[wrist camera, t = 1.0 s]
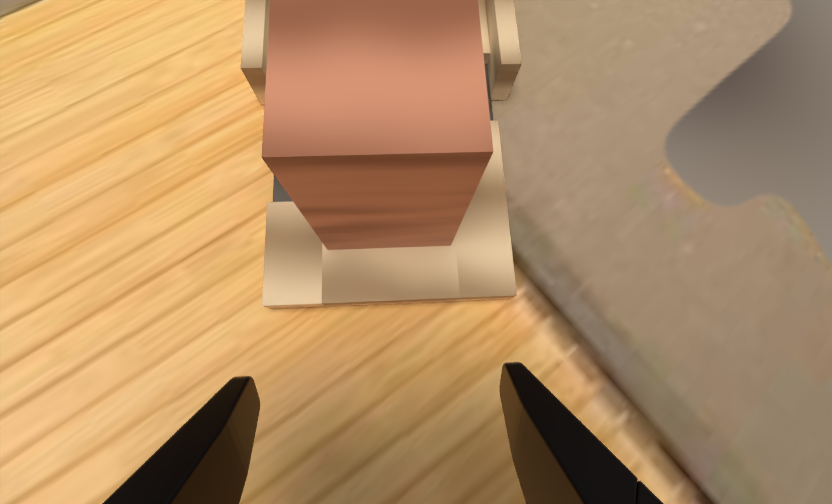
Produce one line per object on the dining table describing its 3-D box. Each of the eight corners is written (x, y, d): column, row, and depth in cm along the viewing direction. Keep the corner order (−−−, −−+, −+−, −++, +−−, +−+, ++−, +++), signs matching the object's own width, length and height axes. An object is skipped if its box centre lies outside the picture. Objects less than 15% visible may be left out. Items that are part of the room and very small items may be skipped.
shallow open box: (529, 298, 24) (550, 288, 20) (249, 309, 23) (223, 302, 20) (490, -37, 30) (502, -86, 27) (269, -36, 29) (251, -87, 26)
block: (450, 245, 23) (493, 152, 12) (327, 250, 23) (261, 157, 12) (442, 121, 25) (472, -52, 14) (328, 124, 25) (272, -53, 14)
